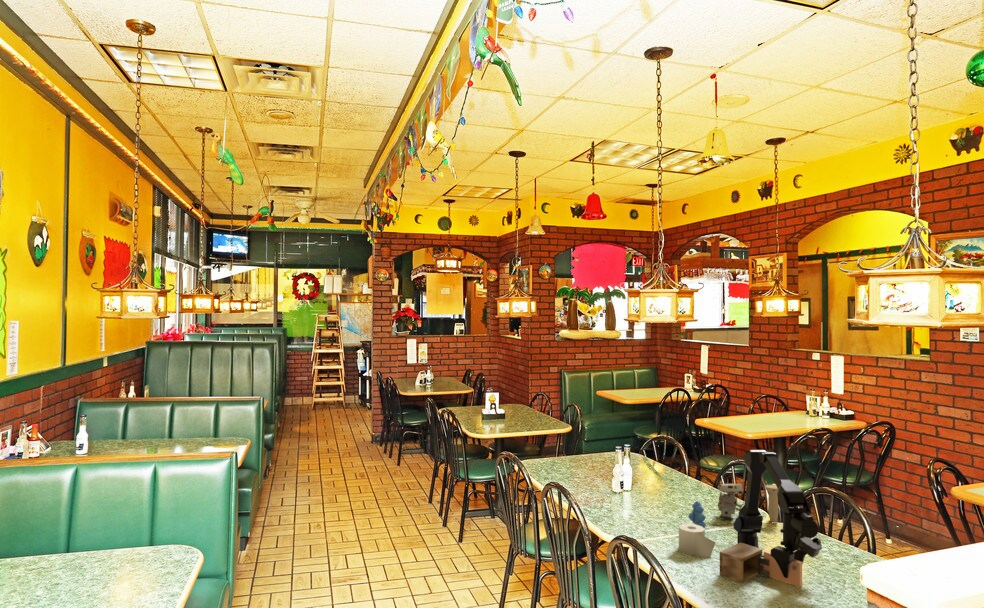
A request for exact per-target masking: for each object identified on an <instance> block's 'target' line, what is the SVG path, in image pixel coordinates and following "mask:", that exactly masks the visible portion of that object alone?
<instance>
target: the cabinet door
mask: <svg viewBox="0 0 984 608" xmlns="http://www.w3.org/2000/svg"><path fill="white" fill-rule="evenodd" d="M763 554H764V558H766V559H769V566H766V565H764V570H767V571H769V578H771V579H774V580H777V581H780V582H783V583H786V582H787V583H786V584H788V583H790V584H789V585H791V584H794V585H796V586H795V587H797V586H799V587H798V588H801V587H803V564H802V561H798V560H795V559H793V560H794V561H793V562H791V563H790V568H789V575H788V578H785V577H784V576H783V574H782V572H781V570H780V568H779V566H778V564H777V562H776V560H775V559H774V558H773V557H772V556H771V551H769V550H765V551H763ZM794 585H793V586H794ZM800 586H801V587H800Z"/></svg>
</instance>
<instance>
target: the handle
mask: <svg viewBox="0 0 984 608" xmlns="http://www.w3.org/2000/svg"><path fill="white" fill-rule="evenodd" d="M764 486H765V487H764V489H765V490H766V491H767V492H768V506H767V509H768V518H770V520H769V522H770V523H778V518H779V498H778V496H777V493H778V488H777V486H776V485H771V484H770V485H769V484H768V485H767V484H766V485H764Z"/></svg>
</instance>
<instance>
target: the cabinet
mask: <svg viewBox="0 0 984 608" xmlns="http://www.w3.org/2000/svg"><path fill="white" fill-rule="evenodd" d="M761 555H763V548H760V547H759V548H757V547H754V546H751V545H747V544H744V543H741V542H740V543H738V544H737V543H735V544H734V545H731V546H729V547H727V548H725V549H723V550H720V551H719V576H720V577H724V578H727V579H730V580H733V582H734V581H735V582H737V583H741V584H743V583H745V582H747V581H749V580H751V579H753V578H754V577H756V576H758V557H759V556H761Z"/></svg>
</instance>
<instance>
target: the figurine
mask: <svg viewBox="0 0 984 608" xmlns="http://www.w3.org/2000/svg"><path fill="white" fill-rule="evenodd" d="M717 490H718V491H719V497H718V503H717V507H718V508H717V509H718V511H720V512H721V513H720V514H721V516H720V519H721V520H724V519H726V520H727V521H732V519H733V518H732V515H735V513H736V511H738V512H739V511H740V509H741V508H742V507H743V506H744V504H745V501H743V503H741V504H740V503H738V497H736V496H734V495H735V494H738V495H740V494H742V495H743V494H744V490H743V485H742V484H741V483H738V482H737V483H719V484H718V485H717Z"/></svg>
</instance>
